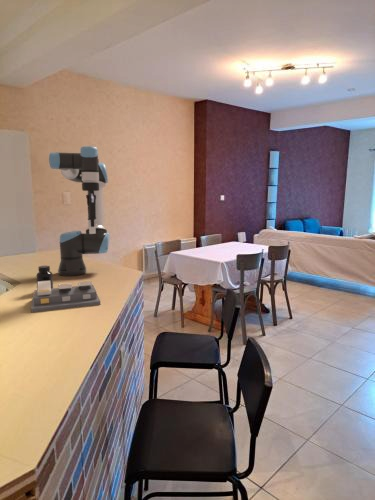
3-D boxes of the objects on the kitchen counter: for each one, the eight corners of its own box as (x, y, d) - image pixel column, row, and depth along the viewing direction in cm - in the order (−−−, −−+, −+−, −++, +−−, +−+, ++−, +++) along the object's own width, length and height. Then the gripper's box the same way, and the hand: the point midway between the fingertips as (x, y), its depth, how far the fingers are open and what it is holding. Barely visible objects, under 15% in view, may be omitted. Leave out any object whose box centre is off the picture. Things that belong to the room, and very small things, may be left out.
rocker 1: (37, 285, 146) (37, 281, 146) (50, 283, 148) (50, 280, 147) (37, 295, 139) (37, 291, 138) (51, 294, 140) (51, 290, 140)
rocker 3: (78, 287, 152) (77, 283, 152) (90, 286, 154) (89, 282, 154) (79, 286, 144) (79, 281, 144) (92, 284, 145) (91, 280, 146)
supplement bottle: (36, 294, 156) (34, 268, 154) (38, 290, 163) (36, 265, 160) (52, 293, 158) (51, 267, 156) (54, 289, 164) (52, 264, 162)
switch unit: (32, 300, 148) (31, 287, 147) (95, 293, 158) (95, 282, 157) (31, 312, 134) (30, 298, 133) (100, 304, 143) (100, 291, 142)
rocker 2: (58, 287, 149) (58, 283, 149) (70, 286, 151) (70, 282, 151) (58, 289, 141) (58, 284, 141) (71, 287, 143) (71, 283, 143)
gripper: (80, 182, 163) (82, 232, 167) (83, 181, 151) (85, 235, 155) (97, 182, 166) (98, 231, 170) (100, 181, 154) (102, 235, 158)
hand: (92, 233), depth 163 cm, fingers closed
